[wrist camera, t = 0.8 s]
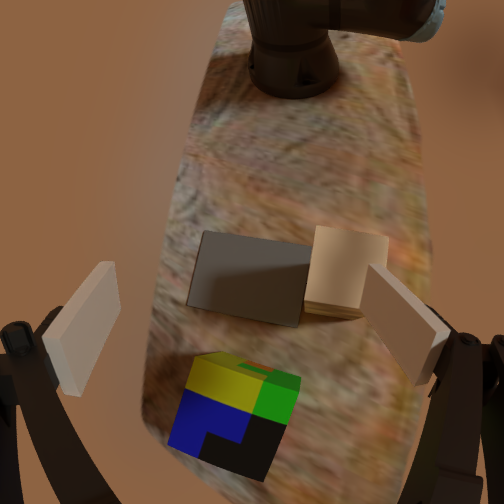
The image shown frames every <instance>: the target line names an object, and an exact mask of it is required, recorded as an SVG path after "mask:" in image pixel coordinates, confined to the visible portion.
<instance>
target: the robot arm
mask: <svg viewBox="0 0 504 504" xmlns="http://www.w3.org/2000/svg"><path fill="white" fill-rule="evenodd" d="M243 2H244V6H245V10H246V14H247V18H248V22H249V26H250V30H251V34H252V39H253V40H252V45H251V50H250V55H249V60H248V68H249V72H250V76H251V79H252V81H253V83H254V84H255V85H256V86H257V87H258V88H259V89H260V90H262V91H263V92H265V93H267V94H269V95H272V96H275V97H280V98H287V99H300V98H307V97H312V96H315V95H318V94H320V93H322V92H324V91H326V90H327V89H329V88H330V87H331V86H332V85H333V84H334V83H335V81H336V79H337V77H338V68H339V62H338V57H337V55H336V53H335V50H334V47H333V45H332V43H331V40H330V38H329V36H328V30H338V31H347V32H354V33H361V34H368V35H374V36H379V37H385V38H390V39H395V40H398V41H410V42H417V43H422V42H426V41H428V40H430V39H431V38H432V37H433V36H434V35H435V34H436V33H437V31H438V29H439V27H440V26H441V23H442V21H443V17H444V13H443V10H444V8H445V7H446V0H243ZM359 309H360V310H361V312H362V313H363V315H364V316H365V317H366V319H367V320H368V321H369V323H370V324H371V326H372V327H373V328H374V330H375V331H376V333H377V334H378V335H379V337H380V338H381V340H382V341H383V342H384V344H385V345H386V347H387V348H388V349H389V351H390V352H391V354H392V355H393V357H394V358H395V359H396V361H397V362H398V364H399V365H400V367H401V368H402V370H403V371H404V372H405V374H406V375H407V377H408V378H409V380H410V381H411V383H412V384H413V386H419V385H423V384H427V383H428V382H429V380H430V378H431V376H432V373H434V374H435V375H436V376H437V379H436V382H435V383H434V385H433V387H432V390H431V392H430V393H429V395H428V397H429V398H430V396H431V395H432V396H431V400H430V405H429V409H428V413H427V417H426V421H425V424H424V428H423V432H422V435H421V438H420V442H419V445H418V449H417V452H416V455H415V458H414V461H413V464H412V467H411V469H410V472H409V475H408V478H407V480H406V483H405V486H404V488H403V491H402V493H401V496H400V498H399V501H398V503H397V504H480V500H481V494H482V489H483V478H482V477H481V476H476V467H477V460H478V452H479V444H480V434H481V440H482V446H483V453H484V460H485V469H486V478H487V490H488V504H504V335H495V336H494V338H493V339H492V342H491V344H481V342H480V340H479V339H478V338H477V337H475V336H474V335H471V334H469V333H464V332H463V333H458V332H457V331H456V330H455V329H453V327H452V326H450V325H449V324H448V323H447V322H446V321H445V320H444V319H443V318H442V317H441V316H439V314H438V313H437V312H436V311H435V310H434V309H433V308H431V307H429V306H428V305H426V304H424V303H423V302H421V301H420V300H419V299H418V298H417V297H416V296H415V295H414V294H413V293H412V292H411V291H410V290H409V289H408V288H407V287H406V286H404V285H403V284H402V283H401V282H400V281H399V280H398V279H397V278H396V277H395V276H394V275H393V274H391V273H390V272H389V271H388V270H387V269H386V268H385V267H384V266H383V265H381V264H368V268H367V274H366V279H365V283H364V288H363V293H362V297H361V302H360V306H359ZM120 310H121V306H120V299H119V293H118V286H117V279H116V271H115V263H114V261H100V263H99V264H98V265H97V266H96V267H95V269H94V270H93V271H92V272H91V274H90V275H89V276H88V277H87V278H86V279H85V281H84V282H83V283H82V284H81V286H80V287H79V288H78V289H77V291H76V292H75V293H74V294H73V296H72V297H71V298H70V300H69V301H68V302H67V303H66V305H65V306H58V307H56V308H55V309H54V310H52V311H50V313H49V314H48V315H47V316H46V318H45V320H43V322H42V323H41V325H40V326H39V327H38V328H37V329H36V331H35V332H34V333H33V331H32V328H31V326H30V324H29V323H27V322H25V321H16V322H12V323H10V324H8V325H6V326H5V327H4V328H3V329H2V330H1V331H0V338H1V341H2V344H3V346H4V349H5V351H6V354H0V504H24V501H23V494H22V488H21V481H20V472H19V463H18V450H17V431H16V405H20V407H21V410H22V414H23V417H24V420H25V423H26V426H27V429H28V431H29V434H30V437H31V440H32V442H33V445H34V447H35V450H36V452H37V455H38V457H39V460H40V462H41V464H42V467H43V469H44V471H45V473H46V475H47V478H48V480H49V482H50V484H51V486H52V488H53V490H54V492H55V494H56V496H57V498H58V500H59V502H60V504H122V503H121V502H120V501H119V500H118V498H117V497H116V495H115V494H114V492H113V491H112V490H111V488H110V487H109V485H108V484H107V482H106V481H105V479H104V478H103V476H102V475H101V473H100V472H99V471H98V469H97V467H96V466H95V464H94V462H93V461H92V459H91V457H90V456H89V454H88V452H87V451H86V449H85V447H84V446H83V444H82V442H81V440H80V438H79V437H78V435H77V433H76V431H75V429H74V427H73V426H72V424H71V422H70V420H69V418H68V416H67V414H66V412H65V410H64V408H63V406H62V403H61V401H60V399H59V397H58V395H57V393H56V389H57V387H58V385H59V384H60V386H61V388H62V391H63V393H64V394H65V395H71V396H76V397H81V396H82V393H83V391H84V389H85V386H86V384H87V382H88V379H89V377H90V375H91V372H92V370H93V368H94V366H95V363H96V361H97V359H98V357H99V354H100V352H101V350H102V348H103V346H104V344H105V341H106V339H107V337H108V335H109V333H110V331H111V329H112V327H113V325H114V322H115V320H116V318H117V316H118V314H119V312H120ZM498 382H499V384H498ZM497 384H498V385H497Z"/></svg>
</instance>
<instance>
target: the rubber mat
mask: <svg viewBox="0 0 504 504" xmlns="http://www.w3.org/2000/svg"><path fill="white" fill-rule="evenodd" d="M311 249H312V246H305V245H299V244H293V243H286V242H279V241H273V240H266V239H260V238H253V237H246V236H240V235H233V234H226V233H219V232H212V231H204V235H203V239H202V243H201V247H200V251H199V256H198V260H197V264H196V268H195V272H194V277H193V281H192V285H191V290H190V294H189V298H188V303H187V305H188V306H192V307H197V308H201V309H206V310H210V311H215V312H219V313H224V314H229V315H233V316H238V317H243V318H248V319H253V320H258V321H263V322H268V323H274V324H279V325H284V326H290V327H295V328H297V327H298V322H299V317H300V312H301V306H302V301H303V296H304V290H305V284H306V279H307V273H308V267H309V261H310V255H311Z"/></svg>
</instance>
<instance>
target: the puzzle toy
mask: <svg viewBox="0 0 504 504" xmlns="http://www.w3.org/2000/svg"><path fill="white" fill-rule="evenodd" d="M300 382H301V377H299V376H296V375H292V374H289V373H286V372H282V371H279V370H276V369H273V368H270V367H267V366H264V365H261V364H258V363H255V362H252V361H249V360H246V359H243V358H240V357H237V356H234V355H231V354H229V353H226V352H223V351H222V352H216V353H211V354H205V355H199V356H195V358H194V361H193V364H192V368H191V371H190V374H189V377H188V380H187V383H186V386H185V389H184V392H183V396H182V399H181V402H180V405H179V408H178V411H177V415H176V418H175V421H174V424H173V427H172V431H171V434H170V437H169V440H168V444H167V445H169V446H171V447H173V448H175V449H177V450H180V451H182V452H184V453H186V454H188V455H191V456H193V457H195V458H198V459H200V460H202V461H205V462H207V463H210V464H212V465H215V466H217V467H220V468H223V469H225V470H228V471H231V472H233V473H236V474H239V475H242V476H245V477H248V478H251V479H254V480H257V481H260V482H264V479H265V477H266V475H267V472H268V470H269V468H270V465H271V463H272V461H273V458H274V456H275V454H276V451H277V449H278V446H279V444H280V441H281V439H282V436H283V434H284V431H285V429H286V426H287V424H288V421H289V418H290V416H291V413H292V411H293V408H294V405H295V402H296V400H297V397H298V394H299V390H300Z"/></svg>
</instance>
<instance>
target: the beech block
mask: <svg viewBox="0 0 504 504" xmlns="http://www.w3.org/2000/svg"><path fill="white" fill-rule="evenodd" d="M388 243H389V237H387V236H381V235H375V234H369V233H363V232H357V231H351V230H344V229H338V228H332V227H325V226H319V225H316V232H315V238H314V245H313V251H312V257H311V263H310V269H309V275H308V281H307V286H306V292H305V298H304V306H305V312H307V313H313V314H319V315H325V316H331V317H337V318H343V319H350V320H356V319H359V318H363V317H365V316H364V315H363V313H362V312H361V310H360V309H359V306H360V302H361V297H362V293H363V288H364V283H365V279H366V274H367V268H368V264H381V265H383V266H384V267H385V268H386V264H387V254H388Z"/></svg>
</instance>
